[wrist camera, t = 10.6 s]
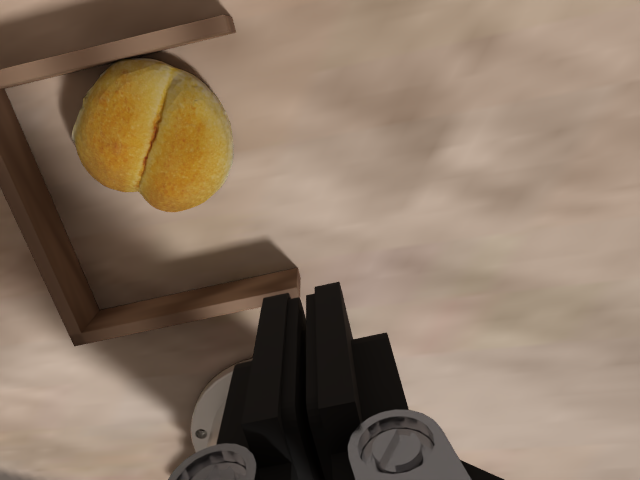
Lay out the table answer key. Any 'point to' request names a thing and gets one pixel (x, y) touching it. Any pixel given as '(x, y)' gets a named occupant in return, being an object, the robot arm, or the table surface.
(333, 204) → the table surface
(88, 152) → the bread roll
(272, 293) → the walnut open-ended frame
